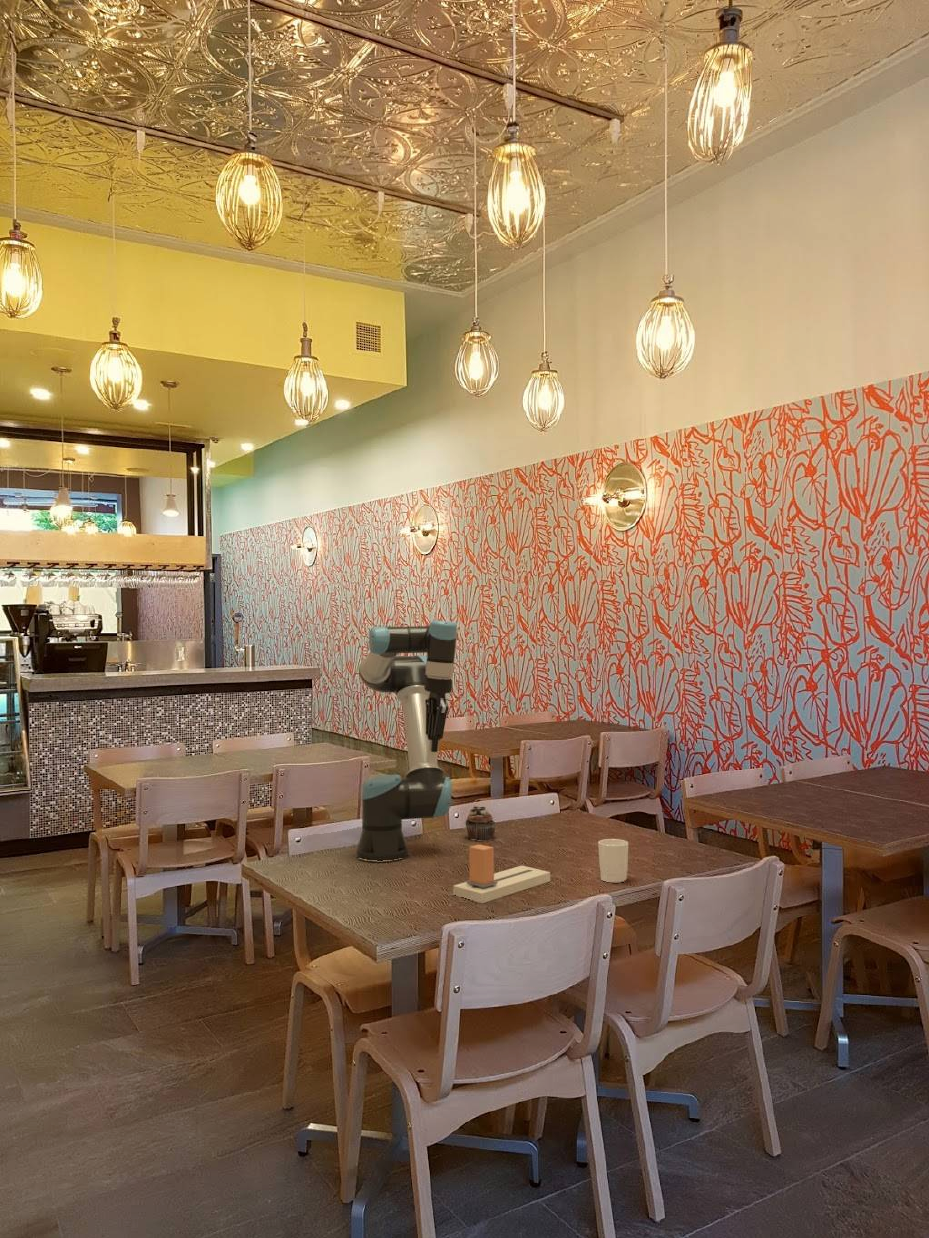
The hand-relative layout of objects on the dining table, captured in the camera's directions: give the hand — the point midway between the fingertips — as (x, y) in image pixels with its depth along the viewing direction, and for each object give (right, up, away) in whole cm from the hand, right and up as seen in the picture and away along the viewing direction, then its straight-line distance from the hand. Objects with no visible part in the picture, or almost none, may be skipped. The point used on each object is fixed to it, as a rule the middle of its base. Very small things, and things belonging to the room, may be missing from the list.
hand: (431, 762), depth 246 cm
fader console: (+19, -30, -15) cm, 38 cm away
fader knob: (+13, -27, -21) cm, 36 cm away
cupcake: (+14, -31, +41) cm, 53 cm away
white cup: (+48, -30, -9) cm, 58 cm away
